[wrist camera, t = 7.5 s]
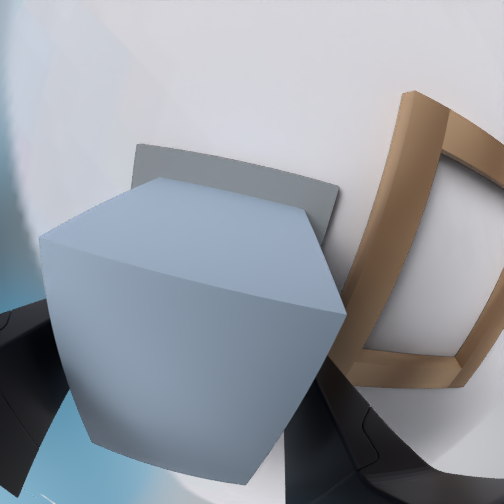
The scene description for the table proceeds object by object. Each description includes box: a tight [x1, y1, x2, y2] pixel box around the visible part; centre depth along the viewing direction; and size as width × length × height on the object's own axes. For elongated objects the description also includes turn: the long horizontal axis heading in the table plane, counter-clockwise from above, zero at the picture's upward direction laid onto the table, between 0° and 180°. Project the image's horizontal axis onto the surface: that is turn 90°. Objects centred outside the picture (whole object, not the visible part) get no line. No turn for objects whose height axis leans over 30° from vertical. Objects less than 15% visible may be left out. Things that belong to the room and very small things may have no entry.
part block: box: [39, 177, 347, 485], centre depth 8 cm, size 5×7×6 cm
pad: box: [131, 144, 339, 248], centre depth 11 cm, size 7×9×1 cm
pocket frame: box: [327, 91, 504, 388], centre depth 10 cm, size 10×12×1 cm
